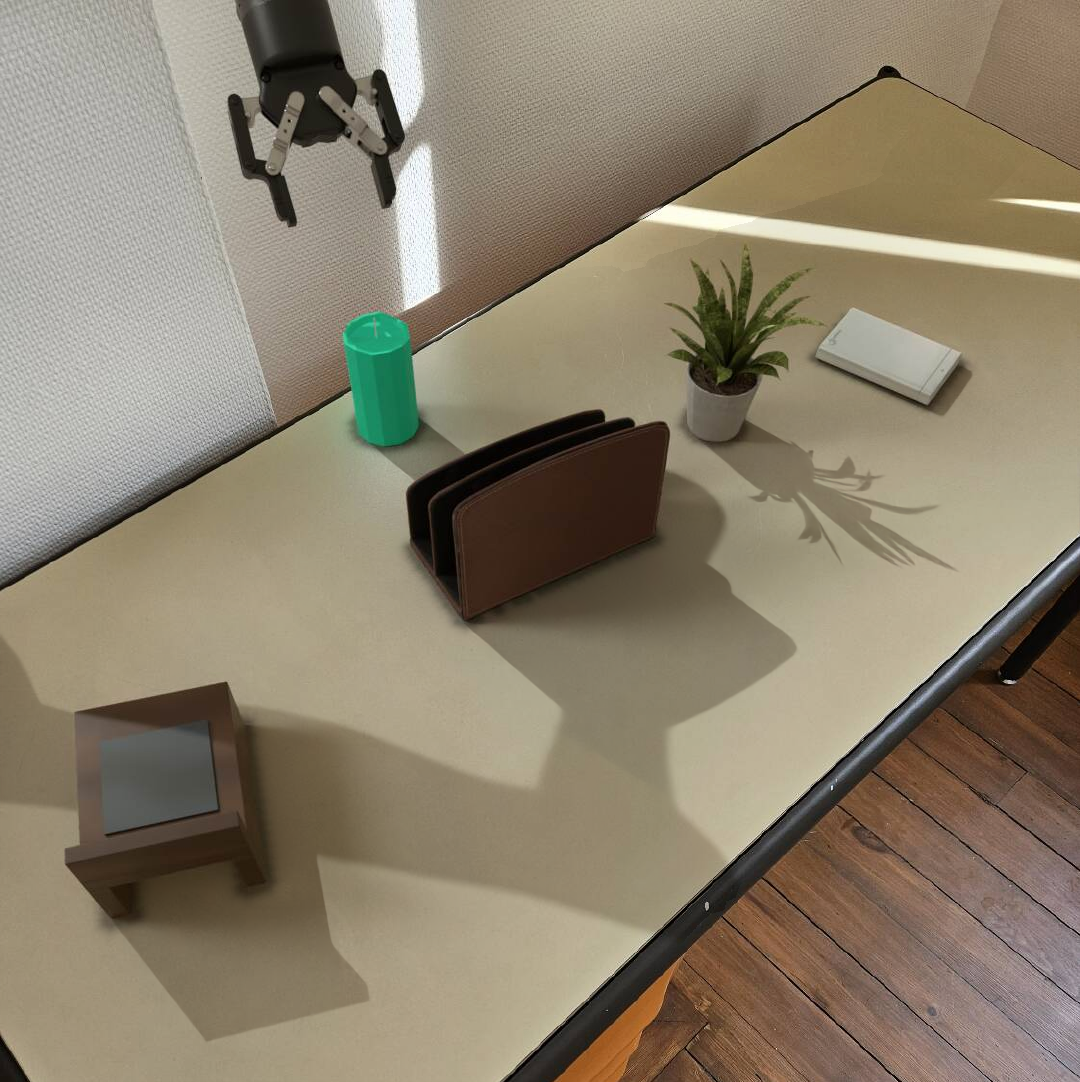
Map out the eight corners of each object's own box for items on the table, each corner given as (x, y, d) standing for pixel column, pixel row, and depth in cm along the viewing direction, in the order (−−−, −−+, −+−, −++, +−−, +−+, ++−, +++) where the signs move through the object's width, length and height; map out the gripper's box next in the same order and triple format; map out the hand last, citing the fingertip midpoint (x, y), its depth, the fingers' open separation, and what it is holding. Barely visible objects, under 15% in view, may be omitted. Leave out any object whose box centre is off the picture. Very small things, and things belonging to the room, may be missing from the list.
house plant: (820, 406, 105) (866, 256, 91) (771, 494, 98) (813, 347, 85) (687, 360, 108) (713, 210, 95) (631, 443, 102) (650, 294, 88)
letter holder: (657, 537, 95) (677, 415, 83) (463, 624, 89) (455, 506, 78) (597, 469, 100) (609, 343, 88) (409, 547, 94) (394, 424, 82)
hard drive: (818, 346, 108) (931, 394, 104) (853, 305, 111) (964, 350, 108) (814, 359, 109) (926, 407, 105) (849, 318, 113) (958, 363, 109)
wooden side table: (101, 753, 82) (59, 688, 74) (244, 724, 84) (217, 657, 76) (110, 918, 75) (64, 864, 67) (266, 882, 76) (239, 825, 69)
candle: (394, 455, 100) (381, 349, 90) (344, 431, 102) (325, 324, 92) (431, 418, 103) (422, 312, 93) (381, 395, 105) (366, 288, 95)
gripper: (198, 4, 84) (261, 220, 88) (371, -23, 87) (425, 187, 91) (201, 44, 91) (259, 243, 95) (361, 18, 94) (411, 212, 98)
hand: (340, 215), depth 93 cm, fingers open, 8 cm apart
